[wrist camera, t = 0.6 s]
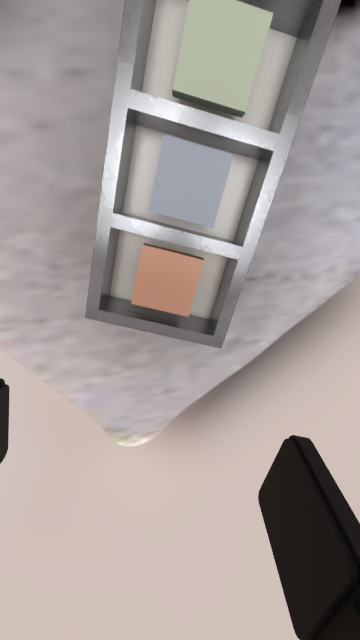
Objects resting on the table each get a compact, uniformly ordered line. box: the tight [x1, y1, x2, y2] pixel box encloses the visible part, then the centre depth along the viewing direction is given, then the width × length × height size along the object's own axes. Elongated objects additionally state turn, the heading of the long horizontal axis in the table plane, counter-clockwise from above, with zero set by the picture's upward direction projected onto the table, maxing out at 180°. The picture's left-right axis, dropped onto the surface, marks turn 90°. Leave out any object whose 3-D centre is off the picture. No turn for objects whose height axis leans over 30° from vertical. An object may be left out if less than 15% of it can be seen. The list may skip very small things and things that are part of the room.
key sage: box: [172, 0, 273, 118], centre depth 18 cm, size 5×5×2 cm
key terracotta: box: [131, 243, 204, 317], centre depth 24 cm, size 5×5×2 cm
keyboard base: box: [110, 0, 297, 319], centre depth 24 cm, size 24×12×2 cm, turn 166°
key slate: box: [149, 134, 234, 228], centre depth 21 cm, size 5×5×2 cm
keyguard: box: [85, 0, 341, 348], centre depth 21 cm, size 24×12×4 cm, turn 166°
